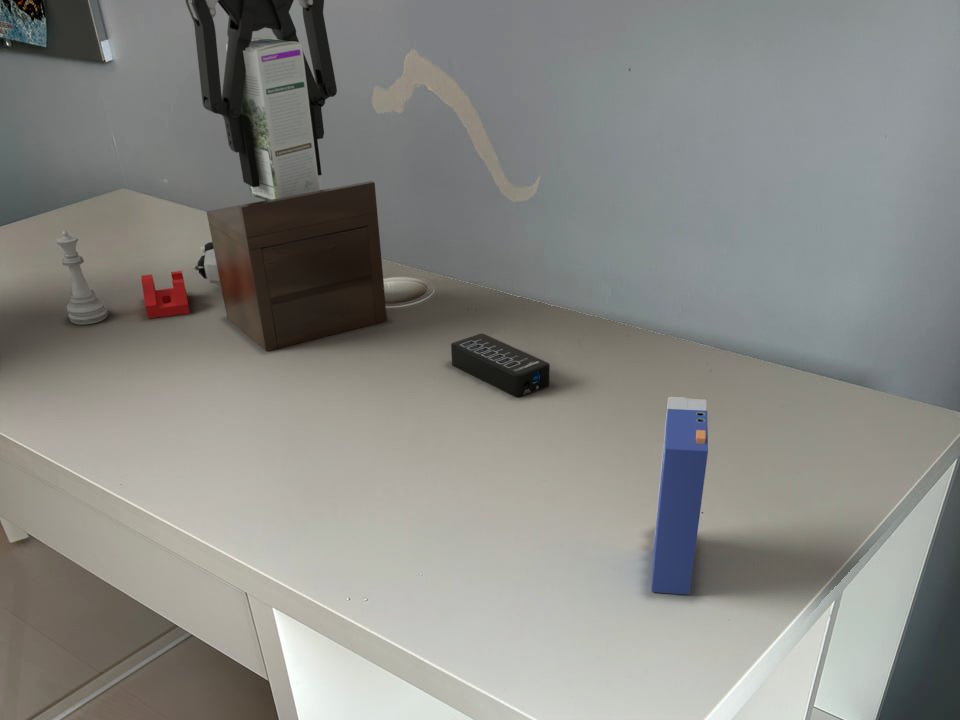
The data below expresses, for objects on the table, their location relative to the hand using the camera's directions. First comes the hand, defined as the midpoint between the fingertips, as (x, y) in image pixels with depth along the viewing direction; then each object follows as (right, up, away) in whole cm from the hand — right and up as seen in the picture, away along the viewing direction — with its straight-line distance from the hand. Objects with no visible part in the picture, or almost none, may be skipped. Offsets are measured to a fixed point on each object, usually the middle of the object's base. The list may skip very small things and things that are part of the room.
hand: (282, 178), depth 106 cm
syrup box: (0, -2, +1) cm, 2 cm away
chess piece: (-25, -11, +11) cm, 30 cm away
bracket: (-17, -9, +14) cm, 23 cm away
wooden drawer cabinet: (+1, -12, +9) cm, 15 cm away
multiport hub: (+23, -22, -4) cm, 33 cm away
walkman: (+36, -44, -32) cm, 65 cm away
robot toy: (-9, -3, +21) cm, 23 cm away
